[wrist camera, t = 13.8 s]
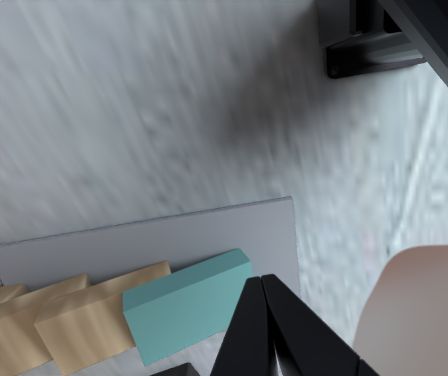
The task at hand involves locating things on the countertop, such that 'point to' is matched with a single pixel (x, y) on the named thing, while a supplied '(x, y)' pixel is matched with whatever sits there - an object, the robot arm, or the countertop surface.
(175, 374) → the disk drive
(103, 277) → the slate mat
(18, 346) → the maple tile
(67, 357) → the maple tile
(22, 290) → the maple tile
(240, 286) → the teal tile
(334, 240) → the countertop surface
